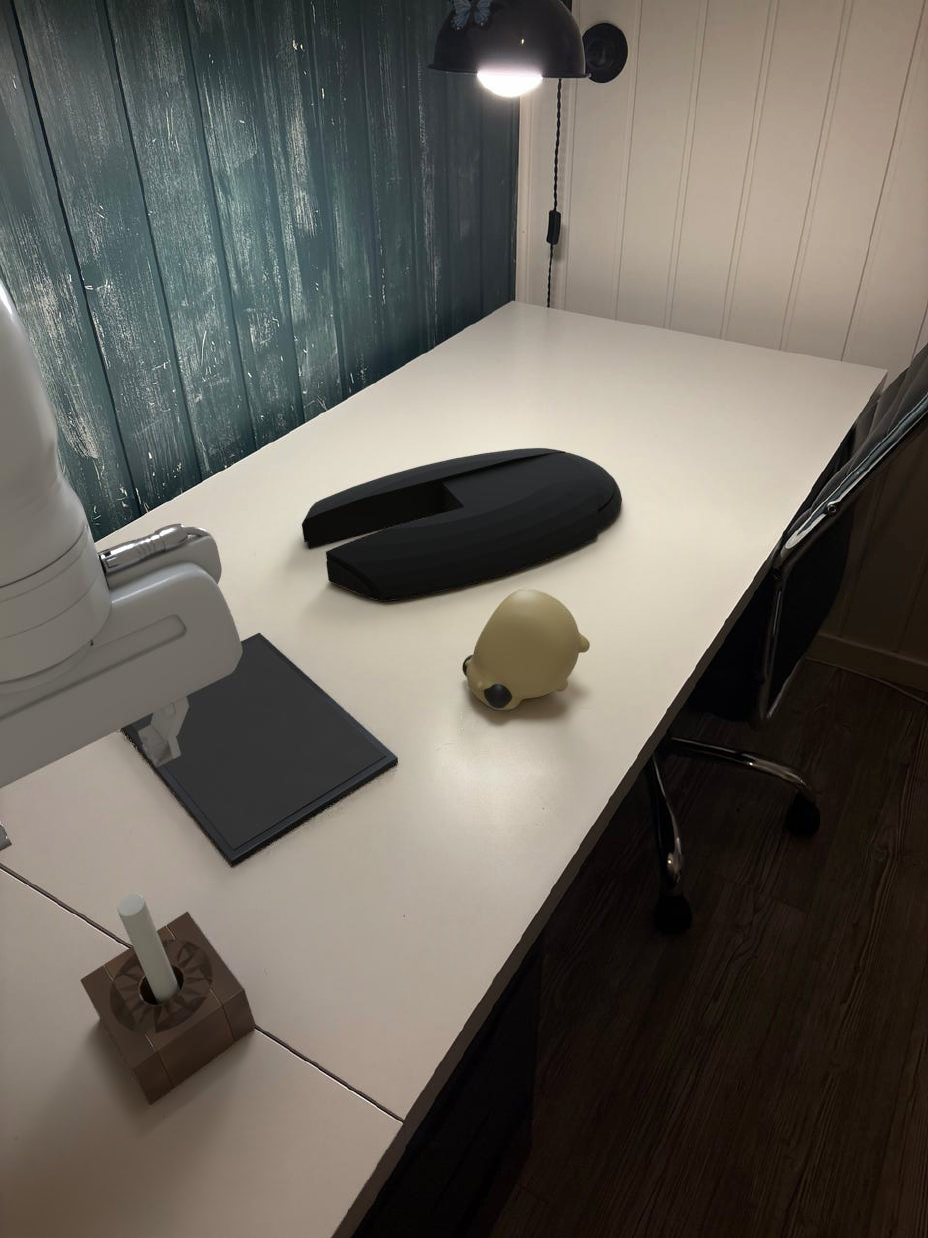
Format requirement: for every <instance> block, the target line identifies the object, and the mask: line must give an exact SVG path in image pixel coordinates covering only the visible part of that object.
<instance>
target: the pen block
mask: <svg viewBox="0 0 928 1238" xmlns="http://www.w3.org/2000/svg"><path fill="white" fill-rule="evenodd" d="M156 930H157V933H158V935H159V938H160V940H161V943H162V945H163V948H164V950H165V953H166V955H167V958H168V960H169V963H170V965H171V968H172V970H173V973H174V975H175V978H176V980H177V983H178V985H179V988H180V992H179V993H178V994H177V996H176V997H174V998H173V999H172V1000H170V1001H169V1002H167V1003H163V1004H160V1005H158V1003H157V1000H156V998H155V996H154V993H153V991H152V989H151V987H150V984H149V982H148V980H147V977H146V975H145V973H144V970H143V968H142V966H141V964H140V961H139V959H138V957H137V954H136V952H135V950H134V947H133V945H132V946H130V947H129V948H128V949H126V950H124V951H123V952H121V953H120V954H118V955H116V956H115V957H113V958H111V959H110V960H108V961H107V962H106V963H104V964H102V965H101V966H99V967H98V968H96V969H95V970H93V971H91V972H90V973H89V974H86V975H85V976H84V977H82V978H81V979H80V984H81V985H82V988H84V990H85V992H86V995H87V996H88V999H89V1000H90V1003H91V1004H92V1006H93V1008H94V1010H95V1012H96V1014H97V1016H98V1017H99V1019H100V1021H101V1023H102V1025H103V1027H104V1029H106V1032H107V1033H108V1035H109V1036H110V1039H111V1040H112V1042H113V1043H114V1045H115V1047H116V1049H117V1051H118V1052H119V1054H120V1055H121V1057H122V1059H123V1061H124V1063H125V1064H126V1067H127V1068H128V1070H129V1072H130V1074H131V1075H132V1077H133V1078H134V1080H135V1082H136V1084H137V1085H138V1088H139V1089H140V1090H141V1092H142V1094H143V1096H144V1097H145V1100H146V1101H147V1103H148V1104H149V1106H150V1105H153V1104H155V1102H157V1101H158V1100H159V1099H161V1098H162V1097H164V1096H165V1095H166V1094H168V1093H170V1092H171V1091H172V1090H173V1089H174V1088H176V1087H178V1086H179V1085H180V1084H182V1083H183V1082H184V1081H186V1080H187V1079H189V1078H190V1077H191V1076H192V1075H194V1074H195V1073H197V1072H198V1071H199V1070H200V1069H202V1068H203V1067H204V1066H206V1065H207V1064H209V1063H210V1062H211V1061H214V1059H216V1058H217V1057H218V1056H219V1055H221V1054H222V1053H223V1052H225V1051H226V1050H227V1049H229V1048H230V1047H232V1046H233V1045H235V1044H236V1043H237V1042H238V1041H239V1040H241V1039H242V1038H244V1037H245V1036H246V1035H248V1034H249V1033H250V1032H251V1031H253V1030H254V1029H256V1028H257V1025H256V1021H255V1018H254V1015H253V1012H252V1009H251V1006H250V1003H249V999H248V995H247V993H246V990H245V989H246V988H245V987H244V986H243V984H241V982H240V981H239V979H238V978H237V976H236V975H235V973H233V971H232V969H230V967H229V965H228V964H227V963H226V961H225V960H224V958H223V957H222V956H221V954H220V953H219V952H218V950H217V949H216V948H215V946H214V944H212V942H211V940H210V939H209V938H208V936H207V935H206V934H205V933H204V931H203V930H202V928H201V927H200V926H199V923H197V921H196V920H195V918H194V917H193V916H192V915H191V913H190V912H189V911H186V912H184V913H183V914H180V916H178V917H176V918H175V919H173V920H171V921H170V922H168V923H167V924H165V925H164V926H162V927H161V928H159V929H156Z"/></svg>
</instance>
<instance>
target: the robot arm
mask: <svg viewBox="0 0 928 1238" xmlns="http://www.w3.org/2000/svg"><path fill="white" fill-rule="evenodd" d="M58 444H59V429H58V422H57V418H56V415H55V411H54V408H53V405H52V403H51V399H50V396H49V393H48V390H47V387H46V383H45V380H44V378H43V374H42V371H41V369H40V366H39V363H38V361H37V358H36V355H35V352H34V349H33V347H32V345H31V342H30V339H29V337H28V334H27V331H26V329H25V326H24V324H23V322H22V320H21V317H20V314H19V313H18V310H17V308H16V306H15V303H14V302H13V300H12V297H11V295H10V293H9V291H8V290H7V288H6V286H5V284H4V282H3V280H2V278H1V277H0V789H2V788H4V787H6V786H8V785H11V784H13V783H14V782H16V781H19V780H20V779H23V778H25V777H27V776H29V775H30V774H33V773H34V772H37V771H38V770H41V769H43V768H45V767H47V766H48V765H51V764H53V763H55V762H57V761H59V760H61V759H63V758H65V757H67V756H69V755H71V754H73V753H75V752H77V751H79V750H81V749H83V748H85V747H87V746H89V745H91V744H93V743H95V742H97V741H99V740H101V739H103V738H105V737H108V736H109V735H111V734H113V733H115V732H117V731H119V730H122V729H121V728H123V727H125V726H127V725H129V724H131V723H133V722H135V721H137V720H139V719H141V718H143V717H145V716H147V715H149V714H151V713H153V712H154V713H153V717H152V720H151V725H149V726H147V727H145V728H143V729H141V730H140V731H138V735H139V738H140V740H141V741H142V743H143V744H142V747H143V750H144V752H145V754H146V755H147V757H148V758H149V760H152V762H153V764H154V766H155V767H156V768H157V767H159V766H161V765H163V764H165V763H167V762H169V761H171V760H173V759H175V758H177V757H179V756H181V752H180V749H179V745H178V742H177V738H176V736H177V735H178V733H179V731H180V728H181V726H182V723H183V721H184V718H185V716H186V713H187V711H188V708H189V704H188V700H187V695H189V694H191V693H193V692H195V691H198V690H200V689H202V688H204V687H206V686H208V685H210V684H212V683H214V682H216V681H218V680H220V679H222V678H224V677H226V676H228V675H230V674H231V673H232V672H233V671H234V670H235V668H236V666H237V664H238V662H239V660H240V658H241V655H242V645H241V641H242V640H241V638H240V633H239V631H238V629H237V625H236V622H235V620H234V617H233V614H232V612H231V610H230V607H229V605H228V602H227V600H226V598H225V595H224V594H223V592H222V590H221V588H220V586H219V583H220V580H221V577H222V571H223V569H222V563H221V558H220V553H219V548H218V545H217V541H216V539H215V538H214V536H213V535H212V534H211V533H210V532H208V531H207V530H206V529H204V528H202V527H198V526H186V527H185V526H184V525H183V524H182V523H173V524H169V525H166V526H162V527H160V528H158V529H156V530H155V531H154V532H153V533H150V534H148V535H146V536H143V537H139V538H137V539H135V538H134V539H131V540H129V541H125V542H121V543H119V544H116V545H114V546H112V547H111V546H110V547H108V548H106V549H103V550H101V551H98V550H97V548H96V544H95V541H94V538H93V533H92V531H91V528H90V525H89V521H88V518H87V515H86V512H85V509H84V506H83V504H82V502H81V499H80V497H79V496H78V494H77V493H76V492H75V490H74V489H73V487H72V486H71V485H70V483H69V481H68V480H67V479H66V477H65V475H64V473H63V471H62V467H61V464H60V459H59V450H58V448H59V447H58V446H59V445H58ZM12 846H13V843H12V841H11V839H10V838H9V836H8V833H7V831H6V830H5V827H4V825H3V824H2V822H1V821H0V852H2V851H3V850H6V849H7V848H10V847H12Z"/></svg>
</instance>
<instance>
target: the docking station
mask: <svg viewBox="0 0 928 1238" xmlns="http://www.w3.org/2000/svg"><path fill="white" fill-rule="evenodd" d="M622 503H623V496H622V492H621V489H620V486H619V485H618V483H617V481H616V480H615V478H614V477H613V476H612V475H611V474H610V472H608V471H607V470H606V469H605V468H604V467H603V466H601V465H600V464H598V463H596V462H594V461H592V459H591V460H590V459H588V458H586V457H584V456H581V455H578V454H575V453H571V452H567V451H565V450H559V449H554V448H547V447H528V448H515V449H507V450H498V451H491V452H483V453H478V454H477V453H476V454H472V455H465V456H460V457H454V458H450V459H445V460H441V461H437V462H433V463H429V464H423V465H419V466H416V467H412V468H408V469H405V470H402V471H397V472H393V473H391V474H387V475H384V476H381V477H378V478H375V479H372V480H369V481H366V482H363V483H360V484H357V485H353V486H351V487H349V488H346V489H344V490H341V491H339V492H336V493H334V494H331V495H329V496H326V497H324V498H322V499H319V500H318V501H316V502H314V503H313V504H312V505H311V506H310V508H309V510H308V511H307V513H306V515H305V517H304V519H303V520H302V522H301V529H302V530H301V531H302V535H303V536H302V537H303V543H307V546H308V550H310V549H315V548H317V547H322V546H324V545H329V544H332V543H336V542H340V541H342V540H347V539H351V538H354V537H358V536H361V535H364V536H361V537H358V538H356V539H354V540H351V541H348V542H345V543H342V544H341V545H338V546H336V547H333V548H332V549H328V550H326V551H325V558H326V561H325V563H326V564H325V566H326V572H327V578H328V582H330V583H332V584H334V585H336V586H339V587H341V588H344V589H346V590H348V591H351V592H354V593H356V594H359V595H360V596H363V597H365V598H368V599H372V600H376V601H379V602H389V601H397V600H403V599H409V598H415V597H420V596H425V595H429V594H435V593H439V592H443V591H448V590H453V589H457V588H463V587H465V586H468V585H469V586H470V585H472V584H477V583H480V582H483V581H488V580H491V579H494V578H495V579H496V578H498V577H501V576H505V575H507V574H508V575H509V574H511V573H513V572H517V571H519V570H523V569H526V568H529V567H533V566H535V565H537V564H540V563H543V562H546V561H549V560H550V559H553V558H555V557H558V556H560V555H562V554H563V555H564V554H565V553H568V552H570V551H573V550H575V549H577V548H580V547H581V546H583V545H585V544H587V543H589V542H591V541H593V540H595V539H597V538H598V534H599V533H598V532H599V531H600V530H601V529H603V528H606V527H607V526H609V524H610V523H611V522H613V521H614V520H615V519H616V518H617V516H618V515H619V513H620V511H621V508H622ZM369 533H370V534H369ZM365 534H367V535H365Z"/></svg>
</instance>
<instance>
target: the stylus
mask: <svg viewBox="0 0 928 1238" xmlns="http://www.w3.org/2000/svg"><path fill="white" fill-rule="evenodd" d="M117 913H118V915H119V917H120V920H121V922H122V924H123V927H124V929H125V931H126V934H127V936H128V938H129V940H130V943H131V945H132V946H133V947H134V950H135V952H136V954H137V957H138V959H139V961H140V964H141V966H142V968H143V970H144V973H145V975H146V977H147V980H148V982H149V984H150V987H151V989H152V991H153V993H154V996H155V998H156V1000H157V1003H158V1005H160V1004H163V1003H167V1002H169V1001H170V1000H172V999H173V998H174V997H176V996H177V994H178V993H179V992H180V988H179V985H178V983H177V980H176V978H175V975H174V973H173V970H172V968H171V965H170V963H169V960H168V958H167V955H166V953H165V950H164V948H163V945H162V943H161V940H160V938H159V935H158V933H157V930H158V929H157V928H156V925H155V923H154V920H153V918H152V915H151V913H150V910H149V907H148V906H147V902H146V900H145V898H144V897H143V895H141V894H139V893H130V894H127V895H125V896H124V897H123V898H121V899H120V901H119V902H118V904H117Z"/></svg>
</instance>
